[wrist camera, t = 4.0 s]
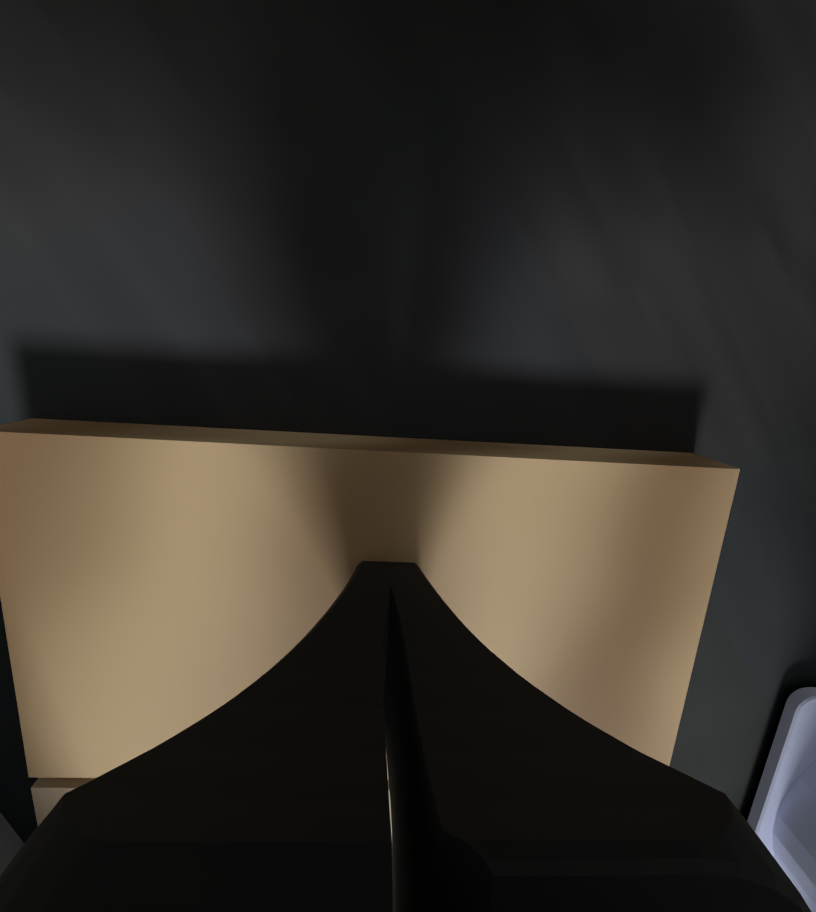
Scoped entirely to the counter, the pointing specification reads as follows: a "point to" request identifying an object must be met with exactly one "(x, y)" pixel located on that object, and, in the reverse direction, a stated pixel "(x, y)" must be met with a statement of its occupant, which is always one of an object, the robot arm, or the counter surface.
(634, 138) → the counter surface
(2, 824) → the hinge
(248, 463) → the plank
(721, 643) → the counter surface
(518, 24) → the counter surface
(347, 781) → the robot arm
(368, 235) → the counter surface
